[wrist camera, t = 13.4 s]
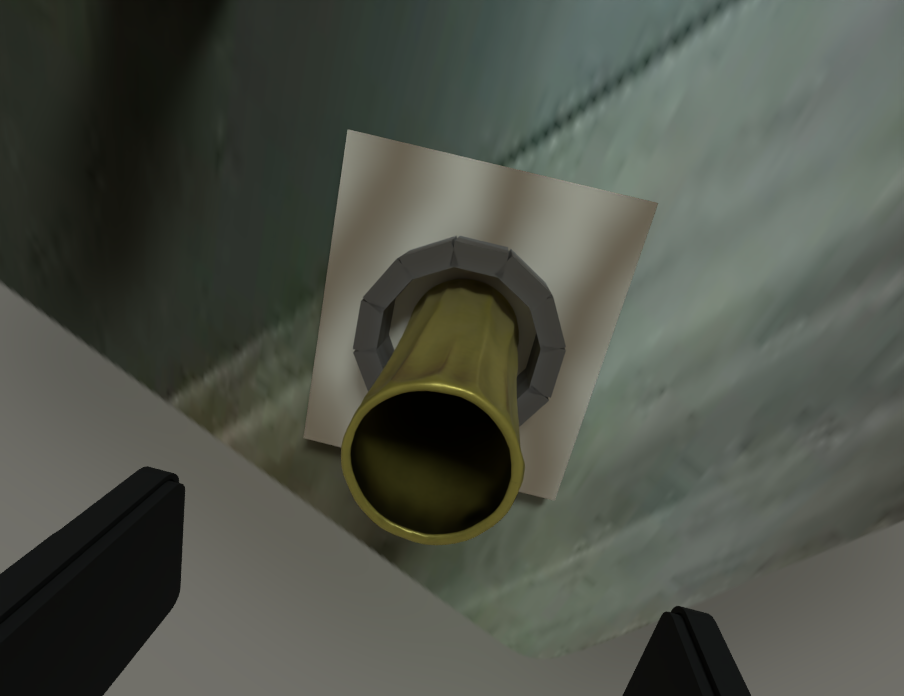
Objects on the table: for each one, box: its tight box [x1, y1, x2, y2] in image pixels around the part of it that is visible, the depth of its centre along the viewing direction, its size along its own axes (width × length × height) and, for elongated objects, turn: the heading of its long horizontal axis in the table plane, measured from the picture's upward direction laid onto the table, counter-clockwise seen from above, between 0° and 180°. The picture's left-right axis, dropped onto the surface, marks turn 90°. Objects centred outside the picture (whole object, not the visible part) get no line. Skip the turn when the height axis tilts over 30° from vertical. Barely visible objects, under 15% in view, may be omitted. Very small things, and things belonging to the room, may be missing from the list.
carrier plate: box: [304, 130, 658, 501], centre depth 26 cm, size 16×18×4 cm
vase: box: [341, 279, 525, 545], centre depth 20 cm, size 6×6×14 cm
